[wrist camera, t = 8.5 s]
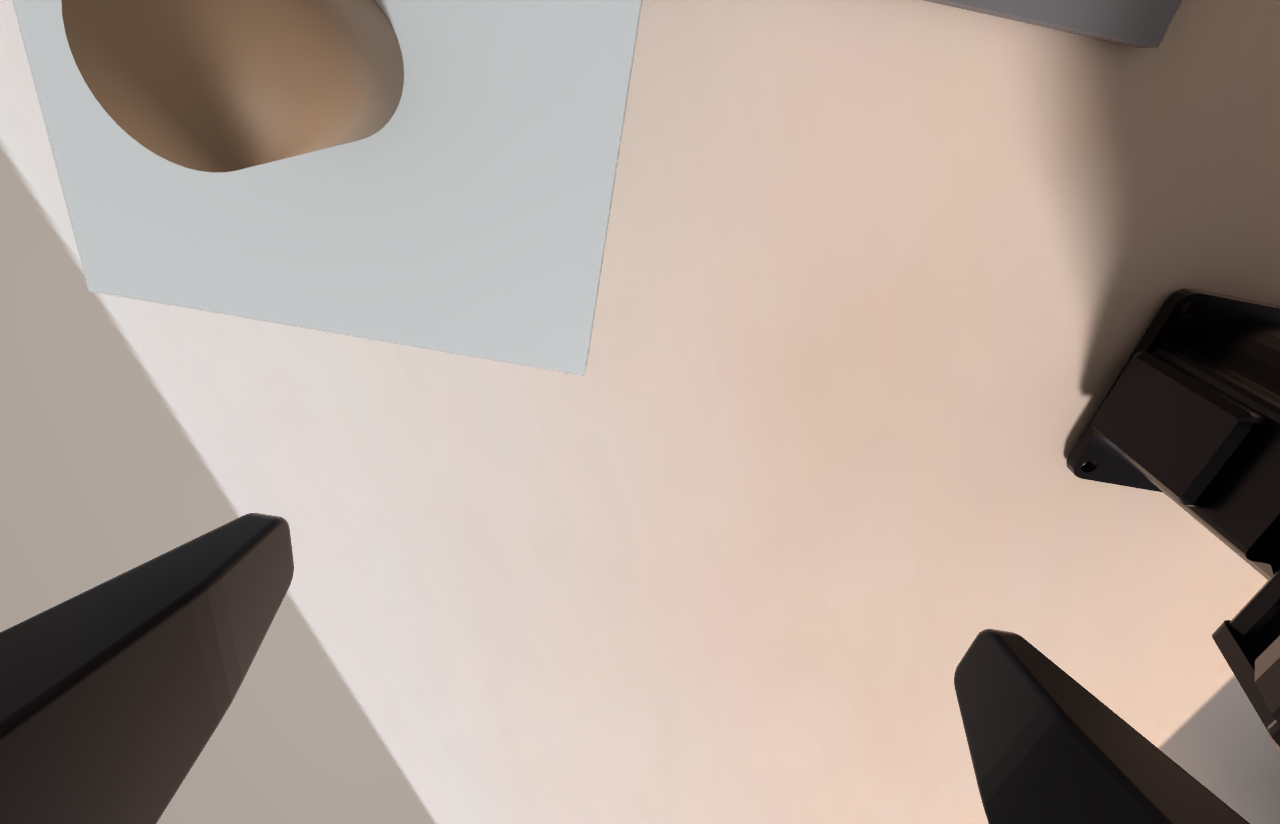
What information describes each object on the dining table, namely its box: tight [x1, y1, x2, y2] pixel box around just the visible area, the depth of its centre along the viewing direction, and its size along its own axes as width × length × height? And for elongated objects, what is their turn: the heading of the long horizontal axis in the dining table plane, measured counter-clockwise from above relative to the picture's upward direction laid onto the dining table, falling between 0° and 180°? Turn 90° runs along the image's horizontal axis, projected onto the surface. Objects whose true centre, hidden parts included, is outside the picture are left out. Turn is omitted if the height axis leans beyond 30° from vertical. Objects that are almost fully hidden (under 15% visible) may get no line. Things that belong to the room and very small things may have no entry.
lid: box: [12, 0, 642, 376], centre depth 10 cm, size 11×11×5 cm
